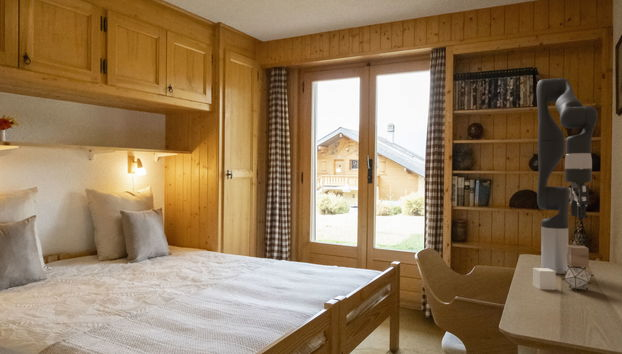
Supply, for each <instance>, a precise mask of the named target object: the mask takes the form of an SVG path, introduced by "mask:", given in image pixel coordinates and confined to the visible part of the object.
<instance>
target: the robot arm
mask: <svg viewBox="0 0 622 354" xmlns="http://www.w3.org/2000/svg"><path fill="white" fill-rule="evenodd" d="M551 103H555V108H556V111H557V113H559V123H560V125H561V126H562V127H563V128H564V129H582V131H581V132H580V133H579V134H575V135H574V134H573V135H570V136H568V137H566V138H565V133H564V132H563V130H562V129H561V127H560V126H559V125H558V123H557V122H556V121H555V120H554V117H553V116H552V114H551V112H550V109H549V106H548V105H549V104H551ZM536 104H537V106H536V107H537V120H538V127H537V154H538V156H537V157H538V158H537V159H538V160H537V161H538V176H537V177H538V178H537V192H536V202H537V206H538V208H539V209H540V210H546V211H547V210H548V211H558V213H557V214H555V215H554V216H551V217H548V218H547V217H546V218H543V219H542V220H541V223H540V224H541V225H540V226H541V229H540V232H541V234H540V235H541V236H540V241H541V242H540V243H541V245H540V247H541V250H540V253H541V256H540V257H541V259H540V260H541V261H540V268H549V269H551V270H553V271H556V274H559V275H560V274H562V275H565V274H566V273H565V272H564V271H566V272H567V270H568V268H569V267H568V266H567V265H569V264H567V245H569V208H570V216H571V217H577V218H578V219H587V207H588V206H589V205H590V194H589V193H590V192H589V190H590V188H589V185H586V184H585V183H591V182H592V181H593V176H592V175H593V159H592V137H593V133H594V131H595V127H596V125H597V122H598V116H599V113H598V111H597V109H596V108H595V107H594V106H592V105H591V106H590V105H589V106H588V105H587V106H583V104H582V102H581V101H580V100H579V99H578V98H577V97H576V95H575V93H574V90H573V87H572V85H571V83H570V81H569V79H567V78H563V77H559V78H557V77H556V78H544V79H542V78H541V79H540V80H539V81H538V82H537V84H536ZM564 155H565V158H564V181H565V183H571V184H568V187H566V186H550V185H549V186H548V181H549V179H550V176H551V175H552V173H553V171H554V170H555V168H556V167H557V165H558V164H559V163H560V162H561V160H562V158H563V157H564ZM569 205H570V206H569Z"/></svg>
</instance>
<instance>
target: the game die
mask: <svg viewBox="0 0 622 354" xmlns="http://www.w3.org/2000/svg"><path fill="white" fill-rule="evenodd" d="M567 266H568V270H567V272H566V271H564V272H565V273H564V277H563V278H561V281H565V282H566V283H567V284H568V286H569V288H573V289H574V291H575V292H577V290H578V289H585V290H588V285H589V284H590V285H591V284H592V282H591V278H592V277H594V276H595V275H594V274H591V273H590V272H589V271H588V270H587V267H580V266H570V265H569V264H568V265H567Z"/></svg>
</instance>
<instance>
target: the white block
mask: <svg viewBox="0 0 622 354" xmlns="http://www.w3.org/2000/svg"><path fill="white" fill-rule="evenodd" d="M556 275H557V273H556V271H553V270H551V269H549V268H541V267H533V268H532V286H533V287H535V288H536V289H538V290H550V291H551V290H552V291H554V290H556V288H557V287H556V283H557V282H556V279H557V277H556Z"/></svg>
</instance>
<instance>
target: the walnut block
mask: <svg viewBox="0 0 622 354" xmlns="http://www.w3.org/2000/svg"><path fill="white" fill-rule="evenodd" d="M589 253H590V252H589V247H586V246H585V245H571V244H568V245H567V264H568V265H569V266H570V267H572V266H580V267H582V268H584V267H586V268H589V267H590V263H589V261H590V258H589V256H590V254H589Z"/></svg>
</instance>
